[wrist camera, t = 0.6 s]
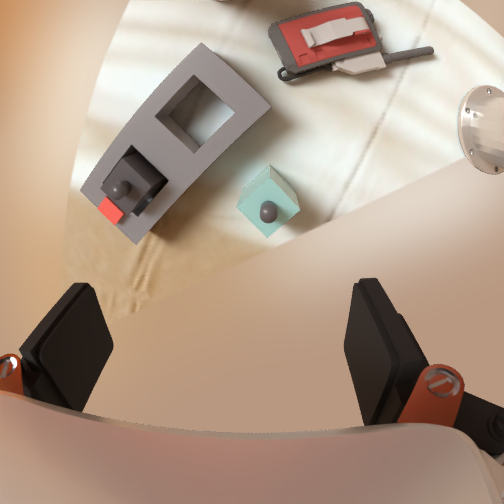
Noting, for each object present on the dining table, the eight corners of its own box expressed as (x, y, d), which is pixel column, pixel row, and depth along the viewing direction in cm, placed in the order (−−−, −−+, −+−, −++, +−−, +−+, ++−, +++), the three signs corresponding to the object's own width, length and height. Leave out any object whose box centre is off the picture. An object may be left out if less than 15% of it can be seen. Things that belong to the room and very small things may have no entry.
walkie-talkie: (286, 98, 31) (431, 58, 27) (289, 96, 27) (448, 55, 23) (256, 33, 28) (404, -2, 23) (254, 23, 24) (418, -12, 19)
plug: (269, 164, 34) (269, 181, 26) (295, 191, 36) (302, 216, 28) (242, 189, 36) (234, 213, 28) (267, 215, 37) (267, 246, 29)
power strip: (209, 50, 29) (190, 31, 21) (271, 107, 31) (271, 105, 23) (97, 181, 36) (58, 201, 28) (148, 230, 39) (120, 262, 31)
